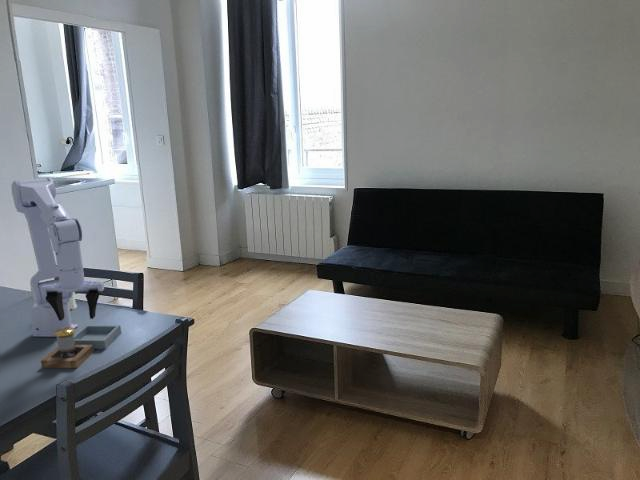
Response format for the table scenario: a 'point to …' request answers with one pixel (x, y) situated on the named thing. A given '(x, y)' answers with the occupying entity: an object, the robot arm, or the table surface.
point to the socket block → (56, 362)
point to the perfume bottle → (72, 302)
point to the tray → (97, 335)
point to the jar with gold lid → (66, 342)
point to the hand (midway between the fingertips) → (77, 318)
